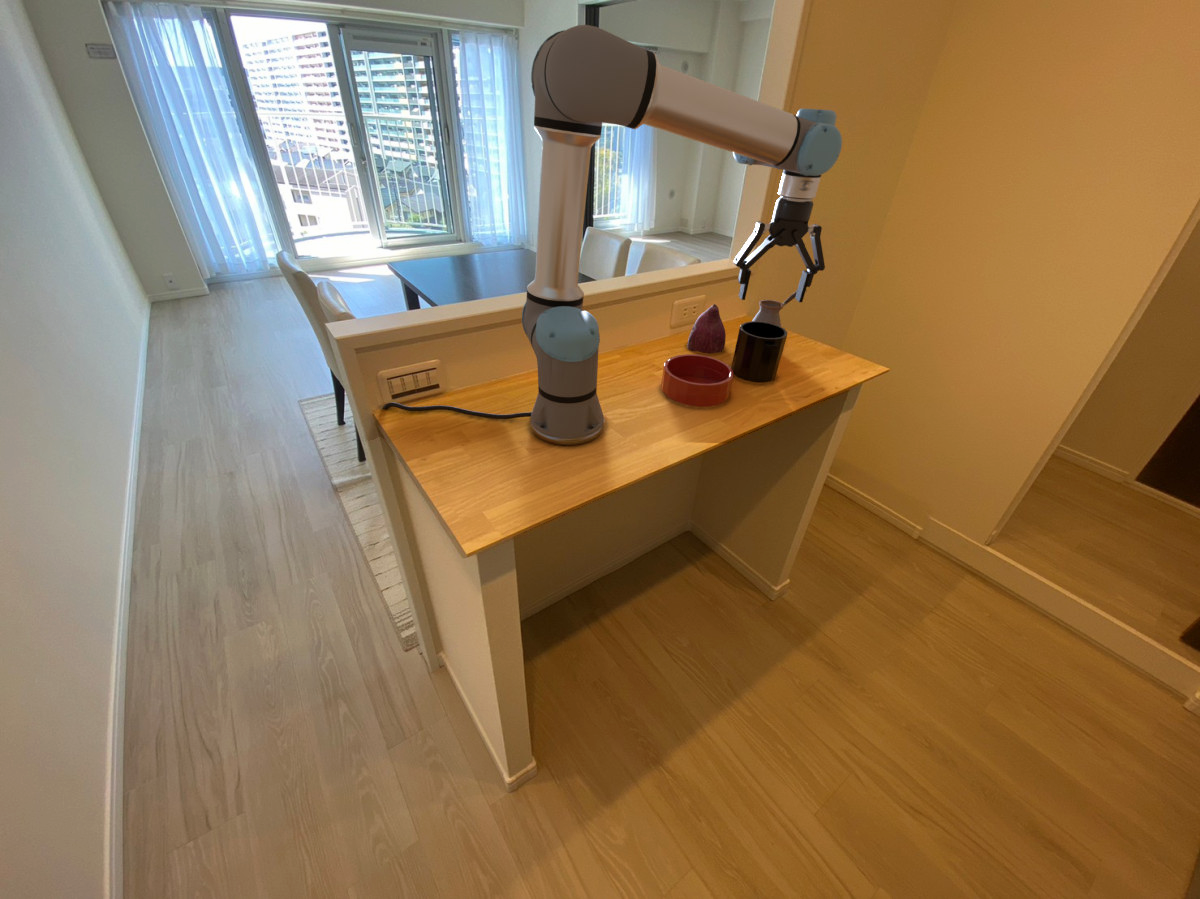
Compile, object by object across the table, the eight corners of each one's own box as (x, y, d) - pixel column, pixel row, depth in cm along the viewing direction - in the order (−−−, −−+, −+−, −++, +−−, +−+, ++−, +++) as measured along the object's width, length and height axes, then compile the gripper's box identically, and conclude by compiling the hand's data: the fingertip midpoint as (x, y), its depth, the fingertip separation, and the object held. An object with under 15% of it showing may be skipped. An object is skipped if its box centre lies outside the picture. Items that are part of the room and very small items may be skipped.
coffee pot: (765, 359, 134) (779, 305, 125) (731, 345, 141) (742, 293, 132) (807, 342, 145) (823, 291, 137) (774, 329, 152) (787, 280, 144)
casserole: (666, 408, 110) (669, 384, 107) (657, 375, 123) (660, 353, 120) (736, 409, 111) (741, 386, 108) (719, 377, 124) (724, 355, 121)
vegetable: (719, 366, 136) (737, 322, 125) (683, 357, 137) (698, 312, 125) (723, 343, 143) (740, 299, 131) (688, 335, 144) (702, 290, 132)
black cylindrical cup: (738, 387, 120) (749, 341, 113) (724, 361, 132) (733, 318, 125) (783, 388, 121) (796, 342, 114) (765, 362, 132) (776, 319, 125)
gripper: (742, 198, 99) (721, 302, 111) (861, 204, 100) (828, 306, 112) (732, 192, 105) (714, 291, 117) (845, 198, 106) (815, 296, 119)
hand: (770, 299), depth 115 cm, fingers open, 13 cm apart
